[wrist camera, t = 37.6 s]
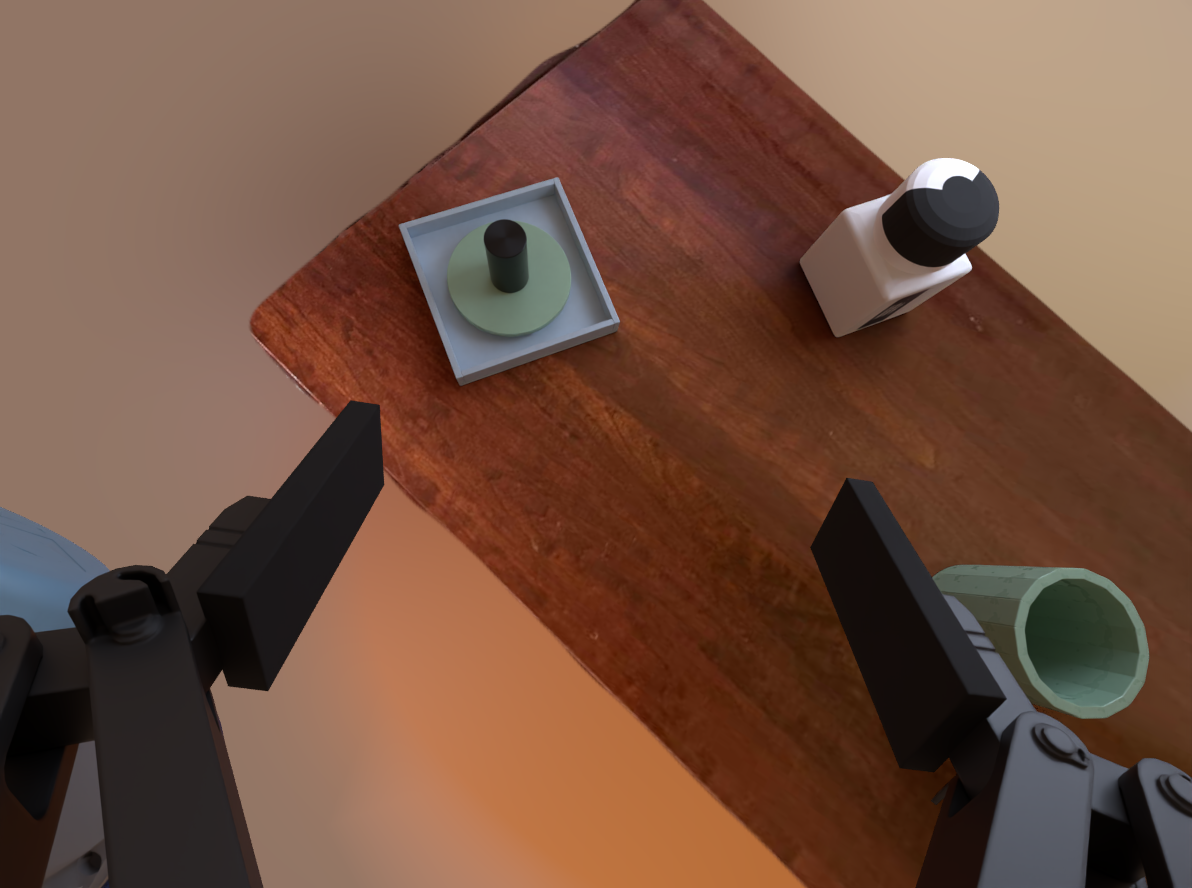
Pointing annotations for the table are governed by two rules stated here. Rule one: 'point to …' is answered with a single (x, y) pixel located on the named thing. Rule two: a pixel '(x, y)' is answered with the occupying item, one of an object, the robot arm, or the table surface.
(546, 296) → the lid
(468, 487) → the table surface
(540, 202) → the tray
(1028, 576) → the faceted green cup
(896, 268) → the container
